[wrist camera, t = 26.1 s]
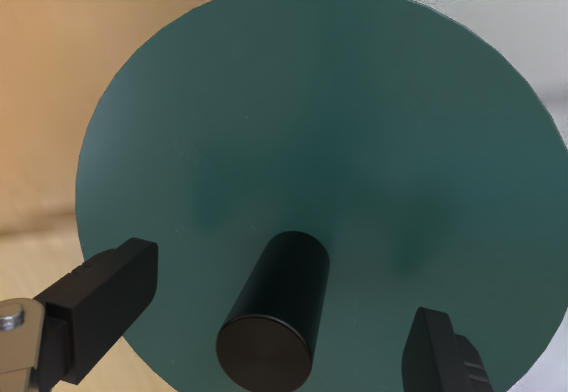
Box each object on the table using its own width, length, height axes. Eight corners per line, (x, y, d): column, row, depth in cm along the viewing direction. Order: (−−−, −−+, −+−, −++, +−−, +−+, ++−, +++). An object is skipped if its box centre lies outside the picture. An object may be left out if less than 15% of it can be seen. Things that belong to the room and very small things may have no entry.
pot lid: (99, 364, 19) (-10, 487, 13) (84, -44, 13) (-131, -127, 7) (468, 471, 16) (520, 676, 11) (673, 30, 10) (1030, -9, 5)
